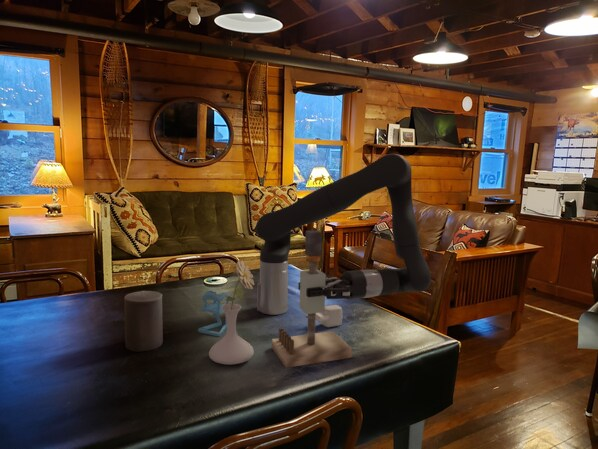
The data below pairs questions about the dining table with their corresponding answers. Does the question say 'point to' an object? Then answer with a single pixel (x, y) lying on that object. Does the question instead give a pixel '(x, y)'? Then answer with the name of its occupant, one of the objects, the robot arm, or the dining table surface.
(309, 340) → the post
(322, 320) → the power adapter
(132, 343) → the pillar candle
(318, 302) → the square hollow tube
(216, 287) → the dining table surface
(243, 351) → the flower in vase
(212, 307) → the chair
